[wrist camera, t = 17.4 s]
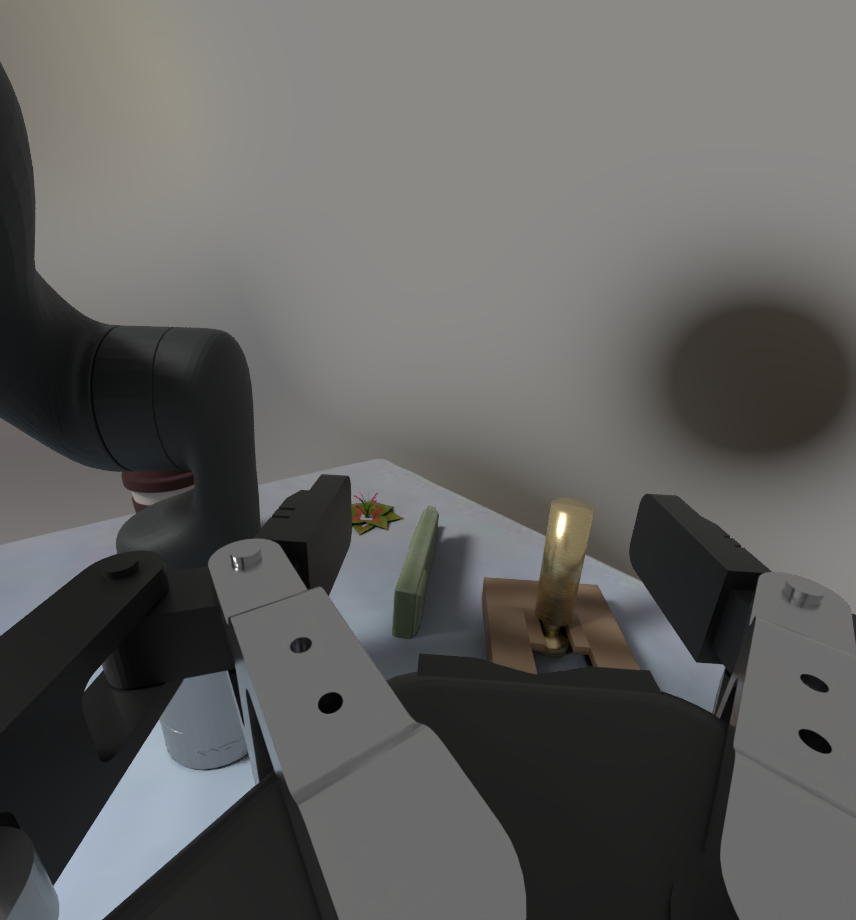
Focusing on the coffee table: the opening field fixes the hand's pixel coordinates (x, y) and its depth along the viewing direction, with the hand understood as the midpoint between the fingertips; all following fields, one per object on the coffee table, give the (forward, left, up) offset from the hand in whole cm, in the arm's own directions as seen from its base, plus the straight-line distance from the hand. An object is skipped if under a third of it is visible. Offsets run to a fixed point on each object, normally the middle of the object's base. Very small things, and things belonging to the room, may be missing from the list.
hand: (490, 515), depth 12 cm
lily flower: (-54, +15, -31) cm, 64 cm away
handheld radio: (-36, +16, -30) cm, 50 cm away
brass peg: (-18, +24, -30) cm, 42 cm away
